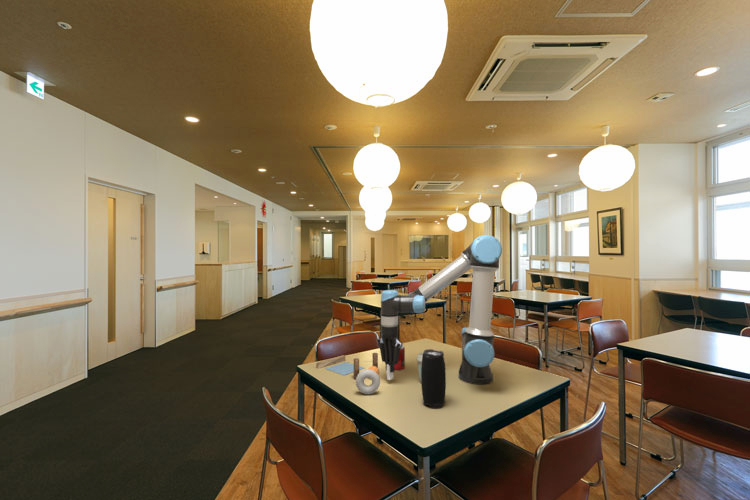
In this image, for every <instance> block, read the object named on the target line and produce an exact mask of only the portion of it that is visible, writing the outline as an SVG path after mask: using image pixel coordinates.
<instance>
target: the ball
mask: <svg viewBox="0 0 750 500" xmlns="http://www.w3.org/2000/svg"><path fill="white" fill-rule="evenodd" d="M367 369H370V370H373V371H375V372H376V373H377V374H378V376H379V375H380V369H379V367H378V368H377V367H376V366H373V365H371V366H369V367H368V368H367Z"/></svg>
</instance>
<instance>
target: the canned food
mask: <svg viewBox="0 0 750 500" xmlns="http://www.w3.org/2000/svg"><path fill="white" fill-rule="evenodd" d="M405 352H406V350H405V345H404V344H403V345H402V347H401V350H400V355H399V361H398V363H397V364H395V365H394V371H402V370H404V369H405V368H406V367H405V366H406V364H405V363H406V359H405V358H406V356H405V355H406V353H405Z"/></svg>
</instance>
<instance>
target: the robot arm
mask: <svg viewBox="0 0 750 500" xmlns="http://www.w3.org/2000/svg"><path fill="white" fill-rule="evenodd" d="M502 253H503V247H502V243H501V242H500V240H499V239H497V238H496V237H495V236H492V235H487V234H486V235H485V234H484V235H479V236H478V237H476V238H475V239H474V240H473V241H472V242H471V243H470V244H469V245H468V246H467V248H465V249H464V250H462V251H461V253H460V256H459V257H457V258H455V260H453V261H452V262H451V263H449V264H448V265H447V266H445V267H444V268H443V269H441V270H440V271H439V272H437V273H436V274H435V275H434V276H432V277H431V278H429V279H428V280H426V281H424V283H423V284H421V285H420V286H419V287H418V288H415V289H414V291H412V292H410V293H409V294H405V295H403V294H399V291H398V290H395V289H394V290H392V289H391V290H390V289H387V290H383V291H382V292H381V294H380V295H381V296H380V310H381V314H380V320H381V321H380V325H381V326H380V328H381V329H380V330H381V331H380V334H381V338H378V339H377V343H378V346H379V351H380V357H381V362H383V363H384V364H385V372H386V380H388V381H391V380H394V372H395V370H394V365H395V364H397V363H398V361H399V355H400V350H401V347H402V345H403V346H404V344H403V342H400V341H399V338H398V334H399V326H398V325H399V313H411V314H412V313H413V314H414V313H416V314H421V313H425V311H426V303H427V302H428V301H429V300H431V299H432V298H433V297H435V296H436V295H437V294H439V293H440V292H442V291H443V290H444V289H446V288H447V287H448V286H450V285H451V284H452V283H454V282H455V281H456V280H458V279H459V278H460V277H462V276H463V275H465V274H466V273H468V272H469V271H470V270H472V285H471V294H470V296H471V297H470V310H469V311H470V312H469V323H468V327H463V328H462V329H461V363H460V366H459V369H458V379H459V380H461V381H463V382H465V383H469V384H472V385H473V384H474V385H486V384H490V383H493V381H494V375H493V372H492V368H491V364H492V362H493V360H494V358H495V348H494V340H495V339H494V338H495V337H494V336H495V334H494V332H493V331H492V330H491V327H492V315H493V314H492V313H493V299H494V298H493V297H494V285H495V273H496V272H497V271H498V270H499V268H500V259H501V256H502Z"/></svg>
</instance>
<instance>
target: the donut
mask: <svg viewBox="0 0 750 500" xmlns="http://www.w3.org/2000/svg"><path fill="white" fill-rule="evenodd" d="M380 378H381V377H380V376H379V375H378V374H377V373H376V372H375V371H373V370H370V369H368V368H367V369H362V370H361V371H359V374H358V375H357V377H356V380H355V386H356V388H357V390H358V391H359V392H360V393H362V394H364V395H372V394H374V393H376V392H377V391H378V390H379V387H380V384H381V379H380ZM365 379H370V380H371V384H369V385H367V384H365Z"/></svg>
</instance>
